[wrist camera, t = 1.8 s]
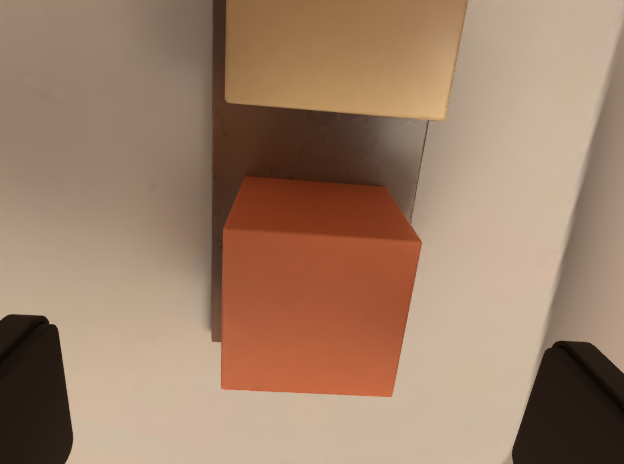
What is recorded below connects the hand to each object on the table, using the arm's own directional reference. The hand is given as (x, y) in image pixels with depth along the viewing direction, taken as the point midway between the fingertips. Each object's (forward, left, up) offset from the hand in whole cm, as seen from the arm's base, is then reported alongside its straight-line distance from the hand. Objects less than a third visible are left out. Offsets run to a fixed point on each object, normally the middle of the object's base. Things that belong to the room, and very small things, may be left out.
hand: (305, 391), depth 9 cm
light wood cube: (-7, 0, -7) cm, 10 cm away
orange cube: (0, 0, -7) cm, 7 cm away
